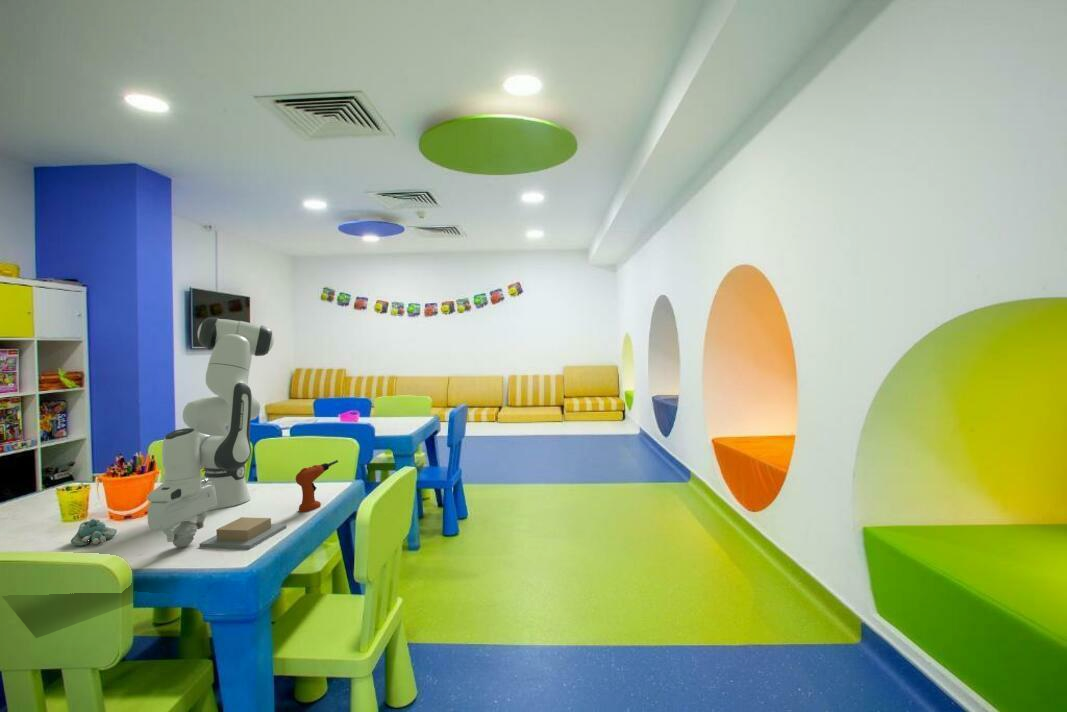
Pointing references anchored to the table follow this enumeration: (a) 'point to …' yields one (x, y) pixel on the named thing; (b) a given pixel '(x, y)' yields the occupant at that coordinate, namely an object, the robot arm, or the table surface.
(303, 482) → the toy drill
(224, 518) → the table surface
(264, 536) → the baseplate
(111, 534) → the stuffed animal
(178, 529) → the grey lumpy sculpture
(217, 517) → the table surface
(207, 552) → the table surface
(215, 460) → the robot arm
